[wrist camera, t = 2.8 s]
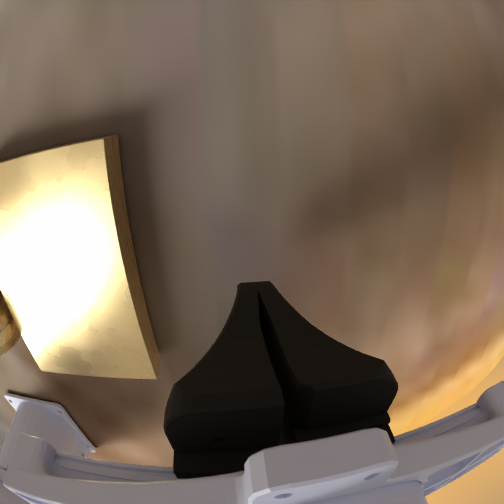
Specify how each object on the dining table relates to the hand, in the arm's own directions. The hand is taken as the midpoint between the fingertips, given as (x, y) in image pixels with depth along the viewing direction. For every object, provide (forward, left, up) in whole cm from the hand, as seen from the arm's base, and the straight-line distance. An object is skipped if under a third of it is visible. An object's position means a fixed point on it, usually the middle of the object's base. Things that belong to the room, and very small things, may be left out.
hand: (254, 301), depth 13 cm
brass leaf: (0, +13, -4) cm, 13 cm away
